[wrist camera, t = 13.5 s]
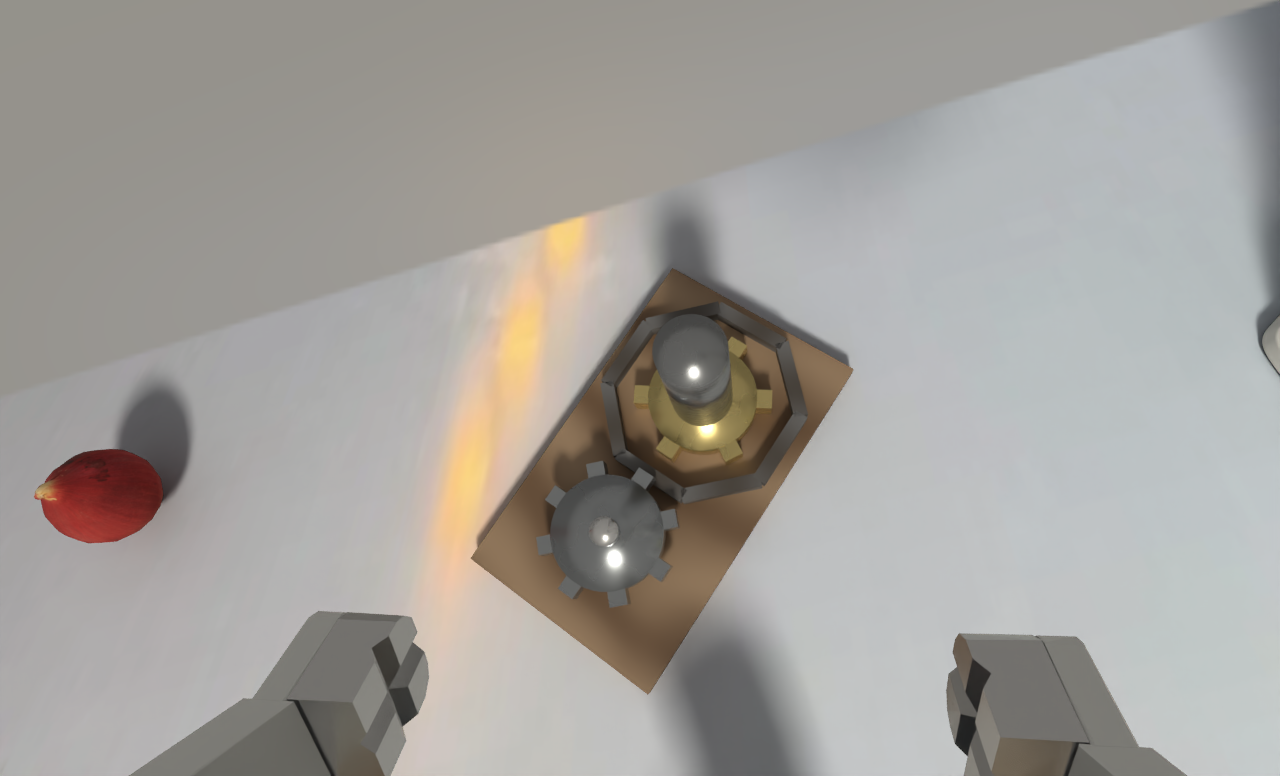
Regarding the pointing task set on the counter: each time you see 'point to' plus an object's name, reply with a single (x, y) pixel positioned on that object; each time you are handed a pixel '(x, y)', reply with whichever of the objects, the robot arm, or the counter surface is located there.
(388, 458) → the counter surface
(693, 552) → the gear board
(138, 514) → the onion
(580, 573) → the gear
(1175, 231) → the counter surface
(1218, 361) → the counter surface
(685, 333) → the gear
